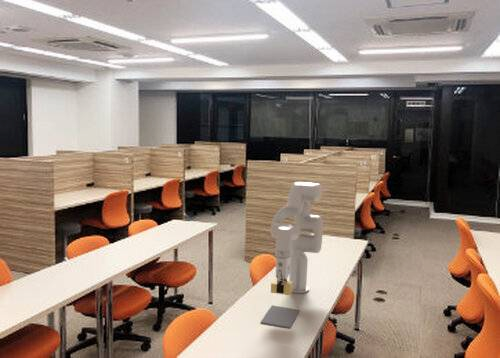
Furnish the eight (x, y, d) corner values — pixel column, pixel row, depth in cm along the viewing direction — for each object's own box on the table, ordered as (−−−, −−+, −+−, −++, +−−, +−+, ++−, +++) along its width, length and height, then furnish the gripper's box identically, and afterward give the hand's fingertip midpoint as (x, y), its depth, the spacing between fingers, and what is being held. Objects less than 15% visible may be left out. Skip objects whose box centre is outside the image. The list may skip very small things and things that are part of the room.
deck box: (292, 290, 216) (292, 281, 215) (289, 295, 210) (289, 286, 210) (274, 288, 219) (274, 279, 218) (270, 292, 213) (271, 283, 213)
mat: (272, 306, 228) (272, 305, 228) (299, 310, 224) (299, 309, 224) (260, 323, 209) (260, 321, 209) (290, 328, 205) (290, 327, 205)
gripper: (286, 259, 203) (285, 298, 205) (295, 249, 219) (293, 285, 222) (270, 257, 205) (269, 295, 208) (280, 247, 221) (278, 283, 224)
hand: (281, 289), depth 215 cm, fingers closed on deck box, 6 cm apart
